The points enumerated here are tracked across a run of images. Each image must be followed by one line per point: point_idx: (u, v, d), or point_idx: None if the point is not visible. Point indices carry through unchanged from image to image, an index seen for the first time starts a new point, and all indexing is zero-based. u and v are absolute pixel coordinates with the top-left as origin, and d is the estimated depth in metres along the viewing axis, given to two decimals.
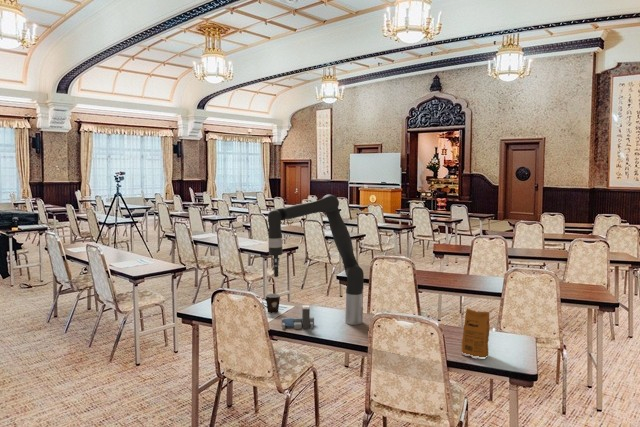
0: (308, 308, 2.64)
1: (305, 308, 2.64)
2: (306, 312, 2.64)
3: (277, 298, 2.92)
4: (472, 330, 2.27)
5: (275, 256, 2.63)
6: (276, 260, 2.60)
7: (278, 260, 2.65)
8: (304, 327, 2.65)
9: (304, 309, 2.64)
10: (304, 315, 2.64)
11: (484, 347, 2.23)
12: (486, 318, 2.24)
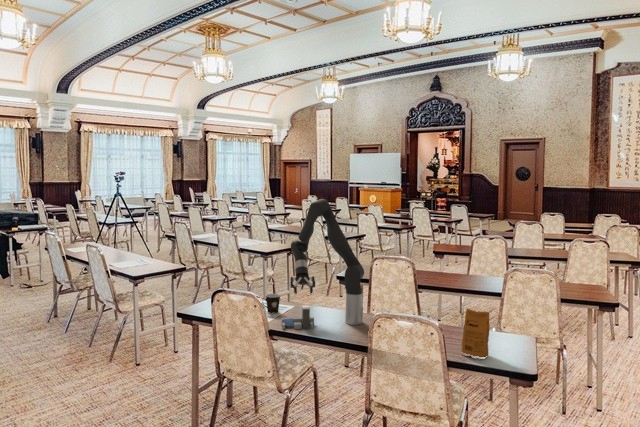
0: (308, 308, 2.64)
1: (305, 308, 2.64)
2: (306, 312, 2.64)
3: (277, 298, 2.92)
4: (472, 330, 2.27)
5: None
6: None
7: (298, 279, 2.80)
8: (304, 327, 2.65)
9: (304, 309, 2.64)
10: (304, 315, 2.64)
11: (484, 347, 2.23)
12: (486, 318, 2.24)
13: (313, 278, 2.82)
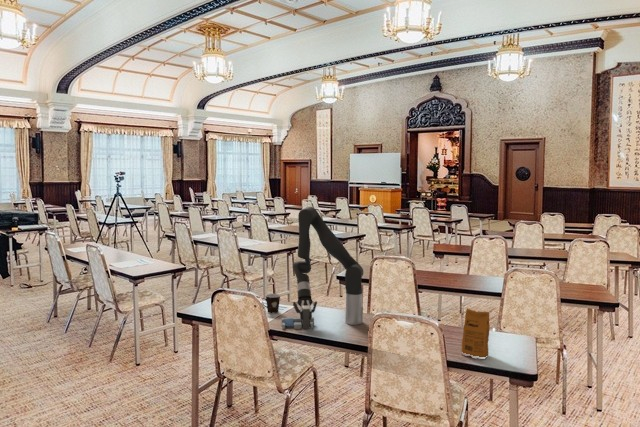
0: (308, 308, 2.64)
1: (305, 308, 2.64)
2: (306, 312, 2.64)
3: (277, 298, 2.92)
4: (472, 330, 2.27)
5: (298, 299, 2.71)
6: (293, 304, 2.68)
7: (301, 302, 2.68)
8: (304, 327, 2.65)
9: (304, 309, 2.64)
10: (304, 315, 2.64)
11: (484, 347, 2.23)
12: (486, 318, 2.24)
13: (315, 303, 2.69)
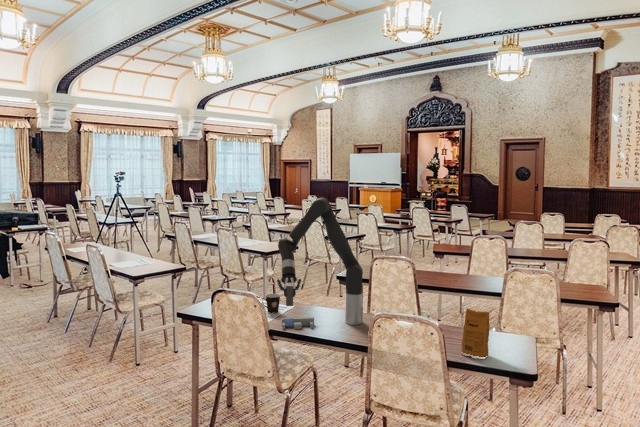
0: (292, 285, 2.61)
1: (289, 285, 2.61)
2: (290, 289, 2.61)
3: (277, 298, 2.92)
4: (472, 330, 2.27)
5: (282, 277, 2.69)
6: (277, 282, 2.66)
7: (285, 280, 2.66)
8: (288, 304, 2.62)
9: (288, 286, 2.61)
10: (288, 292, 2.61)
11: (484, 347, 2.23)
12: (486, 318, 2.24)
13: (299, 281, 2.67)
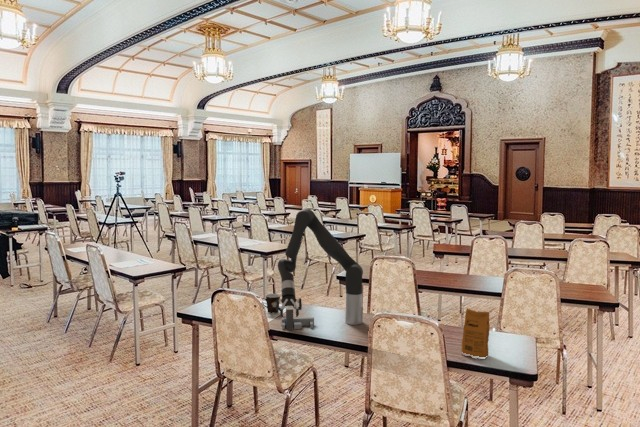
0: (292, 308, 2.63)
1: (289, 308, 2.62)
2: (290, 312, 2.63)
3: (277, 298, 2.92)
4: (472, 330, 2.27)
5: None
6: (276, 301, 2.68)
7: (284, 301, 2.67)
8: (288, 327, 2.63)
9: (288, 309, 2.62)
10: (288, 315, 2.63)
11: (484, 347, 2.23)
12: (486, 318, 2.24)
13: (300, 300, 2.69)
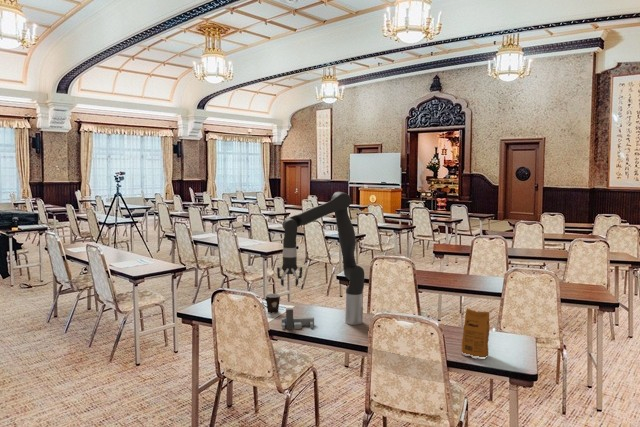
0: (292, 308, 2.63)
1: (289, 308, 2.62)
2: (290, 312, 2.63)
3: (277, 298, 2.92)
4: (472, 330, 2.27)
5: None
6: (277, 269, 2.61)
7: (285, 270, 2.61)
8: (288, 328, 2.63)
9: (288, 309, 2.62)
10: (288, 315, 2.63)
11: (484, 347, 2.23)
12: (486, 318, 2.24)
13: (301, 269, 2.62)
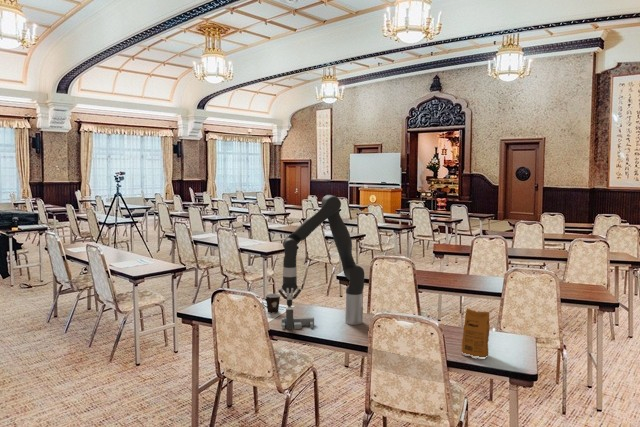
0: (292, 308, 2.63)
1: (289, 308, 2.62)
2: (290, 312, 2.63)
3: (277, 298, 2.92)
4: (472, 330, 2.27)
5: None
6: (279, 292, 2.62)
7: (286, 290, 2.62)
8: (288, 328, 2.63)
9: (288, 309, 2.62)
10: (288, 315, 2.63)
11: (484, 347, 2.23)
12: (486, 318, 2.24)
13: (299, 292, 2.63)
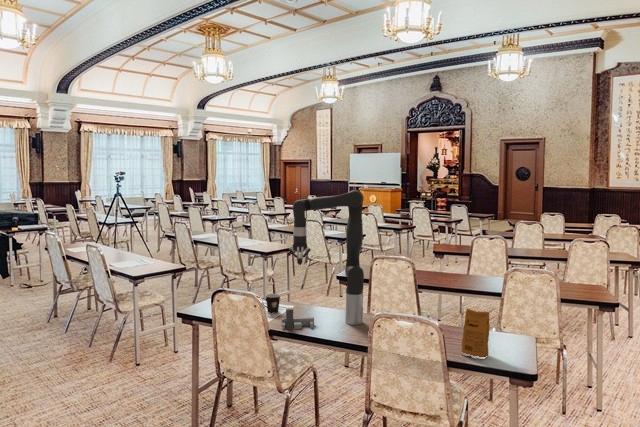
0: (292, 308, 2.63)
1: (289, 308, 2.62)
2: (290, 312, 2.63)
3: (277, 298, 2.92)
4: (472, 330, 2.27)
5: (293, 243, 2.77)
6: (289, 250, 2.77)
7: (297, 249, 2.76)
8: (288, 328, 2.63)
9: (288, 309, 2.62)
10: (288, 315, 2.63)
11: (484, 347, 2.23)
12: (486, 318, 2.24)
13: (308, 250, 2.78)
